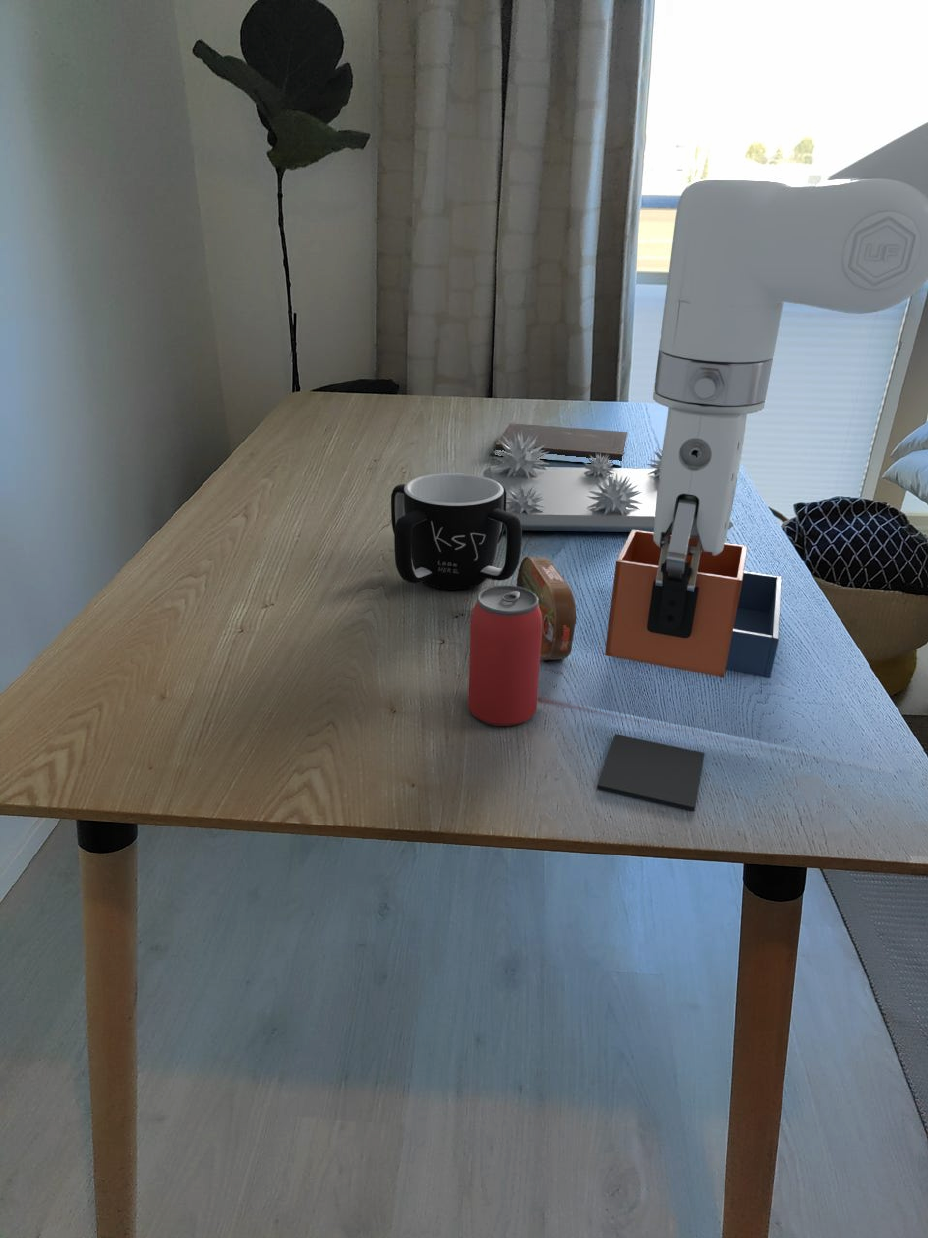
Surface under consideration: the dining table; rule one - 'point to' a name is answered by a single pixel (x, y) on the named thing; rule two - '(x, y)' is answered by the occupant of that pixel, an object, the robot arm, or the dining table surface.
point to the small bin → (710, 619)
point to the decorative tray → (575, 492)
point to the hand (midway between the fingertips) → (675, 610)
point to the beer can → (504, 655)
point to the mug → (453, 530)
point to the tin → (550, 605)
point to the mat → (652, 772)
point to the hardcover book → (569, 440)
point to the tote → (756, 625)
